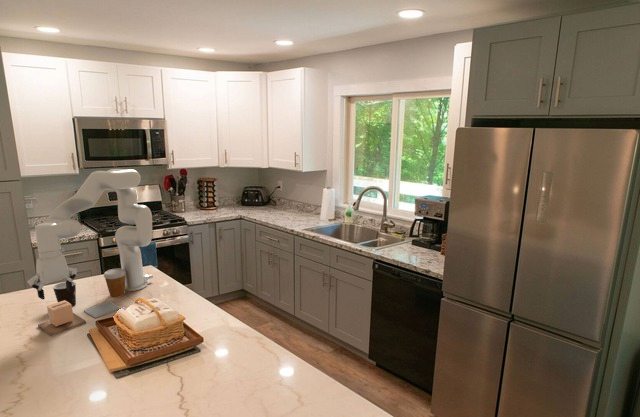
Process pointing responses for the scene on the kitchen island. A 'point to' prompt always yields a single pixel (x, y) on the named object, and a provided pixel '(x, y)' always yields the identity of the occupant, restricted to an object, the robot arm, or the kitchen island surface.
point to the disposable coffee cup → (115, 282)
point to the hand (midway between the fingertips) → (56, 294)
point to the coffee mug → (65, 293)
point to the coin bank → (60, 313)
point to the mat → (102, 309)
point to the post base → (61, 326)
